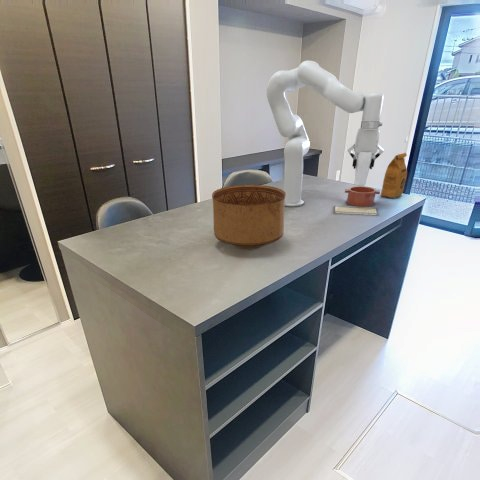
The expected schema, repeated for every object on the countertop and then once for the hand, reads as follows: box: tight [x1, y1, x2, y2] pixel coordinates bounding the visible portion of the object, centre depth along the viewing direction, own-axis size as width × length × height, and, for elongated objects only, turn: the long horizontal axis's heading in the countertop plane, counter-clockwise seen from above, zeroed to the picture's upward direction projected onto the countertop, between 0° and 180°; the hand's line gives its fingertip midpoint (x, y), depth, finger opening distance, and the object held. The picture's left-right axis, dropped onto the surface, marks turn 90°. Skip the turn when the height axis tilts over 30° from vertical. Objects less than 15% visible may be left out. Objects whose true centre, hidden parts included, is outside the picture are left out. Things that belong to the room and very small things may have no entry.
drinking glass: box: [353, 152, 372, 187], centre depth 167 cm, size 7×7×15 cm
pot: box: [211, 184, 286, 250], centre depth 138 cm, size 28×28×20 cm
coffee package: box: [380, 152, 408, 199], centre depth 193 cm, size 10×12×22 cm
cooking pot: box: [344, 186, 381, 207], centre depth 187 cm, size 18×14×7 cm
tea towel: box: [334, 205, 378, 216], centre depth 178 cm, size 20×12×1 cm, turn 77°
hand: (362, 168), depth 167 cm, fingers closed on drinking glass, 6 cm apart
